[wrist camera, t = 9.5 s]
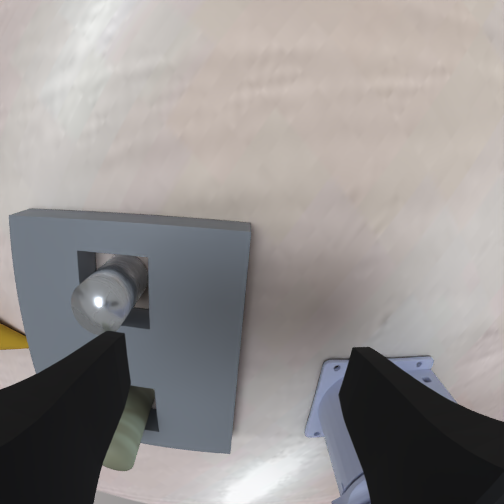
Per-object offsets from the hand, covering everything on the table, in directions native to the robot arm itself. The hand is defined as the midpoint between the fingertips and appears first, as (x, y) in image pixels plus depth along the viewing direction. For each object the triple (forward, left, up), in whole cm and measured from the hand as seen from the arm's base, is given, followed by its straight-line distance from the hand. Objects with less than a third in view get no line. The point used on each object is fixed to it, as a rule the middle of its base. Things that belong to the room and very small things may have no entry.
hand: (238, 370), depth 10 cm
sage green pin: (+7, +11, -10) cm, 17 cm away
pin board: (+7, +6, -10) cm, 14 cm away
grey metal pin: (+7, +1, -10) cm, 13 cm away
